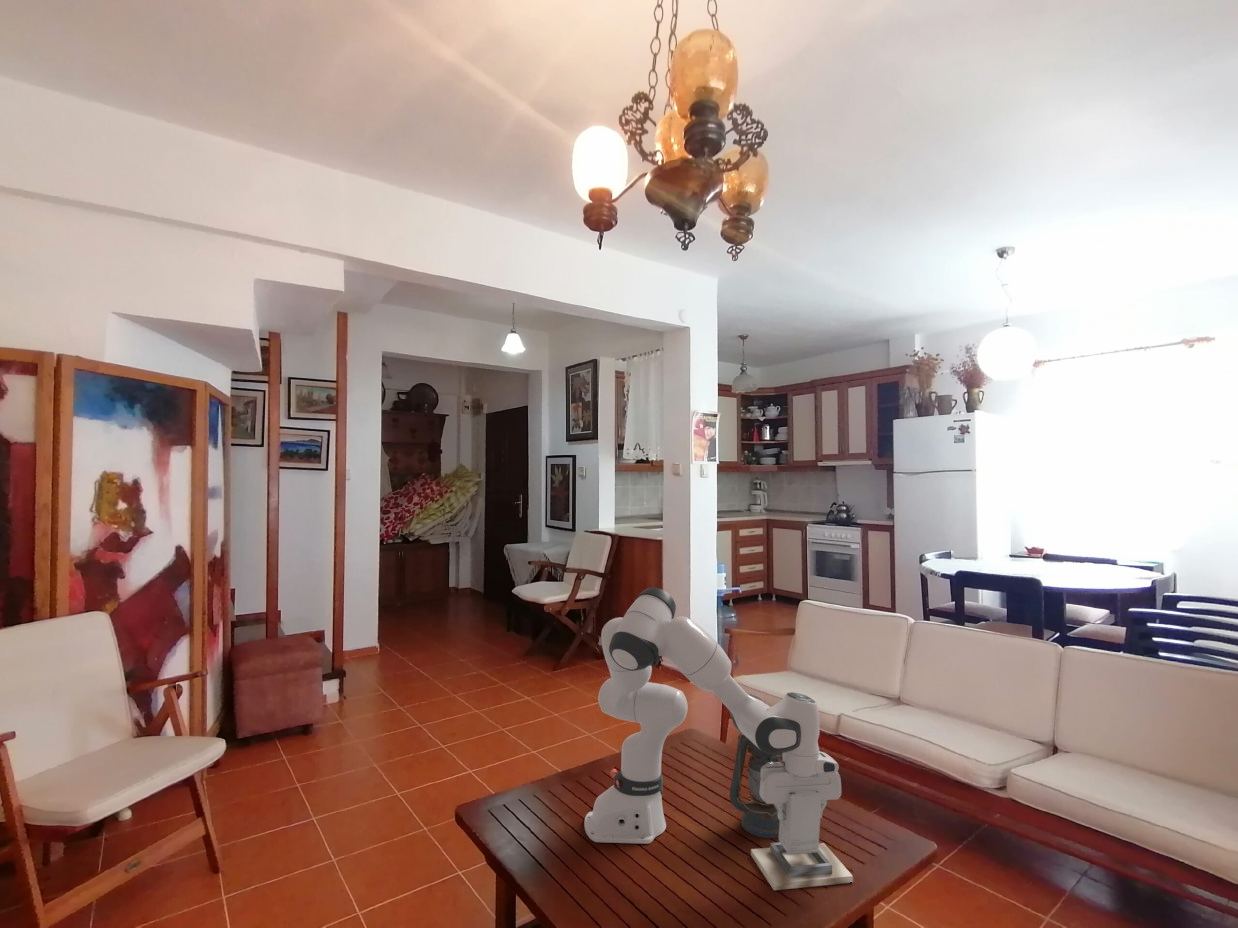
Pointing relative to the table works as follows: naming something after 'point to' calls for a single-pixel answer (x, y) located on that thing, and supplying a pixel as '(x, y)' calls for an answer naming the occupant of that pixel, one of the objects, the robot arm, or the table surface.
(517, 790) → the table surface
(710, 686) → the robot arm
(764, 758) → the lantern
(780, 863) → the board
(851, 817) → the table surface
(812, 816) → the skincare box
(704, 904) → the table surface
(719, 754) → the table surface
